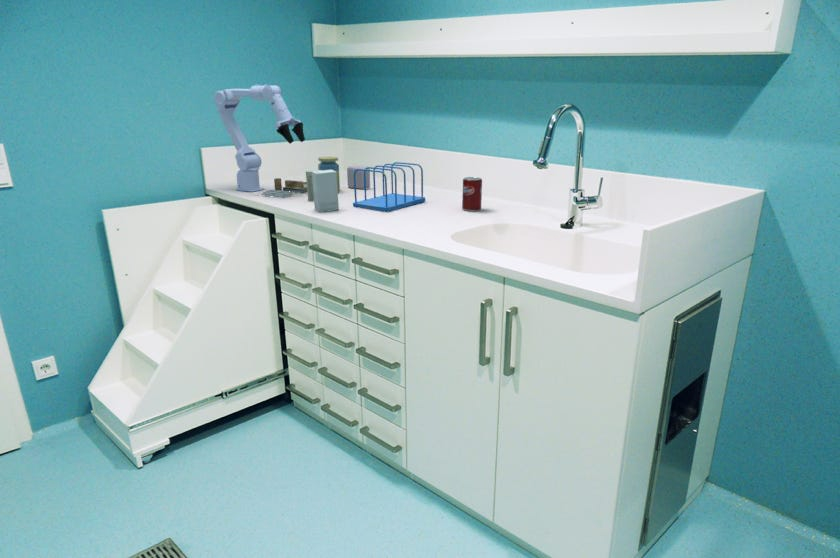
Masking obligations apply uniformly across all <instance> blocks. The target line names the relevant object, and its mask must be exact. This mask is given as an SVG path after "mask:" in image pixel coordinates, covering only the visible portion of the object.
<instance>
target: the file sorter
mask: <svg viewBox="0 0 840 558" xmlns="http://www.w3.org/2000/svg"><path fill="white" fill-rule="evenodd" d="M412 166H418V167H419V168H420V172H421V173H420V174H421V175H420V176H421V177H420V178H421V179H420V180H421V181H420V183H421V184H420V185H421V186H420V187H421V188H420V189H421V191H420V193H421V196H419V195H418V196H417V195H415V193H416V191H415V190H416V189H415V183H416V181H415V177H416V176H415V170H414V167H412ZM402 167H406V168H410V169H411V170H412V195H410V194H407V183H406V178H407V177H406V171H405V170H404V168H402ZM367 169H370V170H367ZM394 169H397V170H401V171H402V173H403V194H402V193H401V194H400V193H398V192H397V190H398V189H397V188H398V187H397V183H398V182H397V181H398V180H397V174H396V173H397V172H396V171H395V170H394ZM358 170H360V171H364V189H363V190H364V199H362V200H360V201H358V199H357V198H358V197H357V189H356V180H355V173H356V171H358ZM366 171H370V172H372V176H373V177H372V178H373V197H372V198H371V197H370V198H368V199H367V189H366V174H365V173H366ZM385 171H390V176H391V177H390V178H391V179H390V181H391V193H388V183H387V179H388V178H387V175H386V173H385ZM376 173H381V174H382V195H379V196H376V195H377V194H376ZM393 174H394V175H393ZM393 176H394V177H393ZM353 189H354V202H352V207H353V206H354V208H358V207H360V209H365V208H366V210H374V211H377V212H378V211H379V212H383V211H385V213H389V212H392V211H394V210H395V211H396V210H398V209H404V208H406V207H409V206H413V205H416V204H420V203H423V202H426V197H425V196H424V171H423V168H422V166H421V164H420V163H419V164H418V163H411V162H401V161H400V162H399V161H398V162H397V161H396V162H393V163H384V165H380V164H379V165H375V166H374V167H372V166H367V168H366V169H356V170H355V171H354V188H353ZM388 211H389V212H388Z"/></svg>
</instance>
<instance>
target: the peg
mask: <svg viewBox="0 0 840 558" xmlns="http://www.w3.org/2000/svg"><path fill="white" fill-rule="evenodd" d="M273 180H274V182H273V183H274V184H273V185H274V190H279V191H283V185H282V178H279V177H278V178H277V177H276V178H274V179H273Z"/></svg>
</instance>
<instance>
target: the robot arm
mask: <svg viewBox="0 0 840 558" xmlns="http://www.w3.org/2000/svg"><path fill="white" fill-rule="evenodd" d="M282 93H283V91H282V89H281V87H280V86H279V85H276V84H275V85H269V84H264V85H260V84H258V83H257V84H256V83H255V84H254V85H252V86H251V87H250V88H228V89H223V90H222V89H221V90H217V91H216V92H215V93H214V97H213V103H214V104H215V106H216V108H217V112H218V115H219V118H220V120H221V122H222V124H223V126H224V128H225V130H226V131H227V134H228V135H229V137H230V139H231V141H232V145H233V146H234V148H235V149H236V154H235V155H234V156H235V157H234V158H235V160H236V165H237V167H238V168H239V170H238V171H237V172H236V183H237V188H236V191H243V192H251V193H253V192H257V191H261V190H265V188H264V187H261V186H260V176H259V175H260V174H259V173H260V172H259V170H260V167H261V165H262V158H261V156H260V155H259V154H258V153H257V152H256V150H255V149H254V148H252V147H250V146H249V143H248V141H247V140H246V137H245V136H244V134H243V132H242V130H241V128H240V126H239V124H238V122H237V119H236V118H235V116H234V112H235V111H236V110H237V108H238V106H239V104H240V101H241V100H242V98H243V97H244V98H246V97H248V98H249V97H250V98H251V99H252V100H255V101H266V102H267V104H269V105H270V107H271V109H272V111H273V113H274V114H275V116H276V118H277V120H278V121H276V122H275V123H274V124H273V125H274V126H275V127H274V128H276V132H277V134H280V135H281V136H282V137H283V139H284V140H286V141H287V143H289V144H292V143H293V142H294V138H293V136H292V134H291V131H292V132H293V133H294V134H295V136H296V138H297V139H298V140H299V142H301V143H303V142H304V141H306V138H305V134H304V133H305V132H304V123H303V122H302V121H301V120H300V119H296V117H295V116H292V114H291V112H290V110H289V108H288V107H287V104H286V102H285V100H284V98H283V97H282ZM290 127H293V128H292V129H290ZM290 130H291V131H290Z"/></svg>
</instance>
